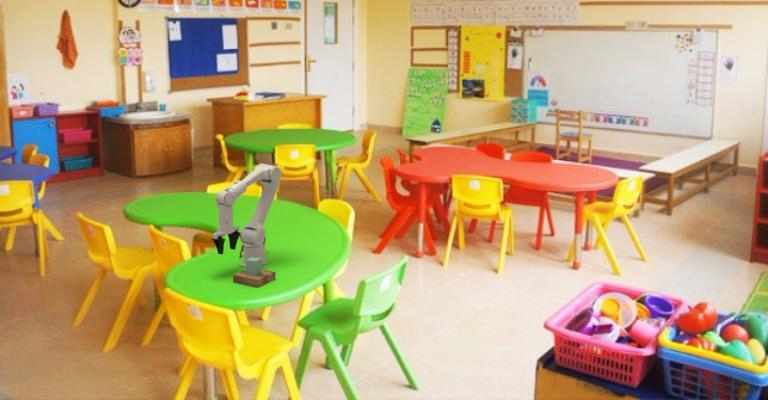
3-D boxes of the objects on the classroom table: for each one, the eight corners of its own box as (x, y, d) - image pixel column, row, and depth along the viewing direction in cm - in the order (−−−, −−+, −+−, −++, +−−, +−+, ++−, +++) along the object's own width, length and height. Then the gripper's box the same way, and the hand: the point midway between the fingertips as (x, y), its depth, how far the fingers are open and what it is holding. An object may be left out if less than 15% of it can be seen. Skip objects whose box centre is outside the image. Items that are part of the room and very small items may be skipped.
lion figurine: (261, 250, 359) (260, 231, 357) (268, 252, 356) (268, 233, 354) (235, 257, 349) (235, 238, 346) (243, 260, 345) (243, 240, 343)
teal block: (251, 271, 322) (251, 256, 321) (261, 272, 321) (261, 258, 319) (246, 274, 318) (245, 260, 317) (256, 275, 317) (255, 261, 315)
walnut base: (252, 273, 328) (252, 266, 327) (275, 279, 322) (275, 272, 322) (233, 282, 318) (233, 274, 317) (256, 287, 312) (256, 280, 311)
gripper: (229, 214, 330) (230, 245, 334) (206, 222, 318) (207, 254, 321) (243, 216, 327) (243, 248, 330) (219, 224, 315) (220, 257, 318)
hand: (226, 251), depth 326 cm, fingers open, 7 cm apart
